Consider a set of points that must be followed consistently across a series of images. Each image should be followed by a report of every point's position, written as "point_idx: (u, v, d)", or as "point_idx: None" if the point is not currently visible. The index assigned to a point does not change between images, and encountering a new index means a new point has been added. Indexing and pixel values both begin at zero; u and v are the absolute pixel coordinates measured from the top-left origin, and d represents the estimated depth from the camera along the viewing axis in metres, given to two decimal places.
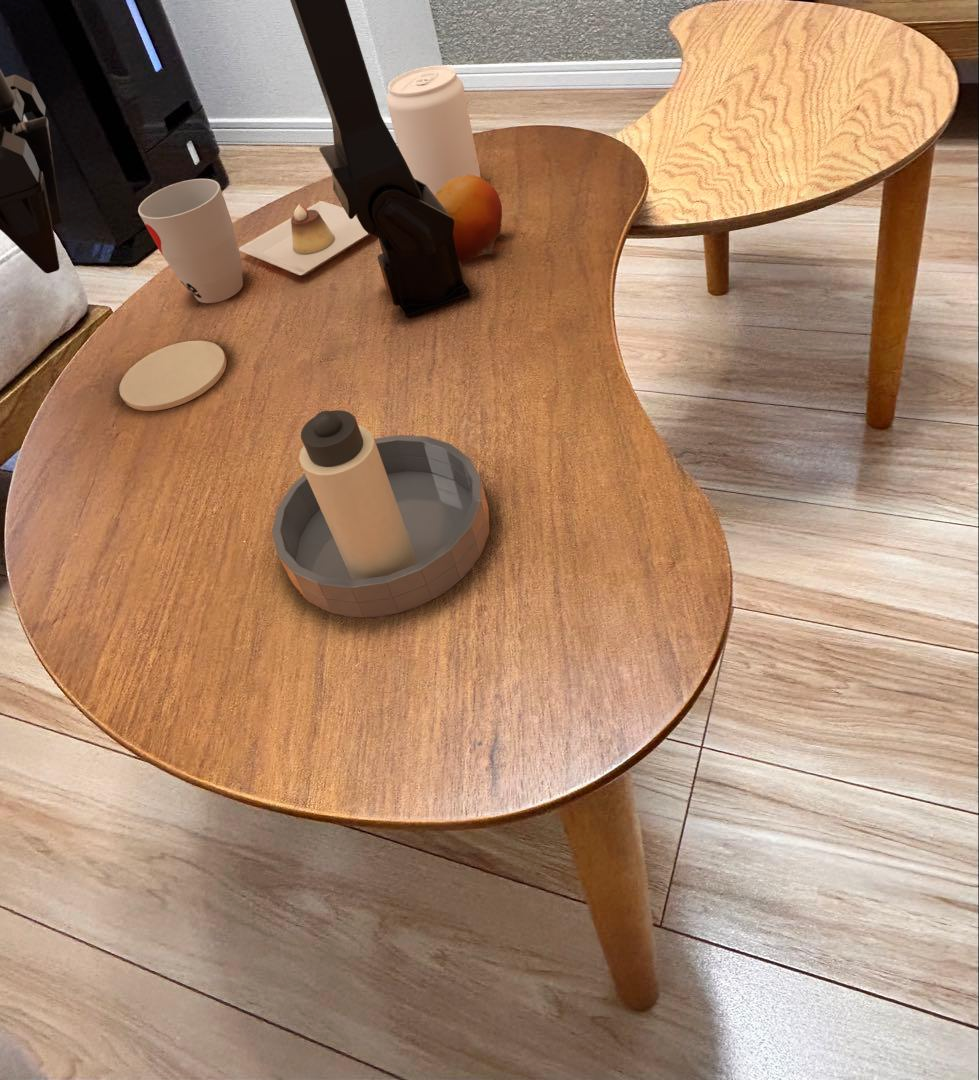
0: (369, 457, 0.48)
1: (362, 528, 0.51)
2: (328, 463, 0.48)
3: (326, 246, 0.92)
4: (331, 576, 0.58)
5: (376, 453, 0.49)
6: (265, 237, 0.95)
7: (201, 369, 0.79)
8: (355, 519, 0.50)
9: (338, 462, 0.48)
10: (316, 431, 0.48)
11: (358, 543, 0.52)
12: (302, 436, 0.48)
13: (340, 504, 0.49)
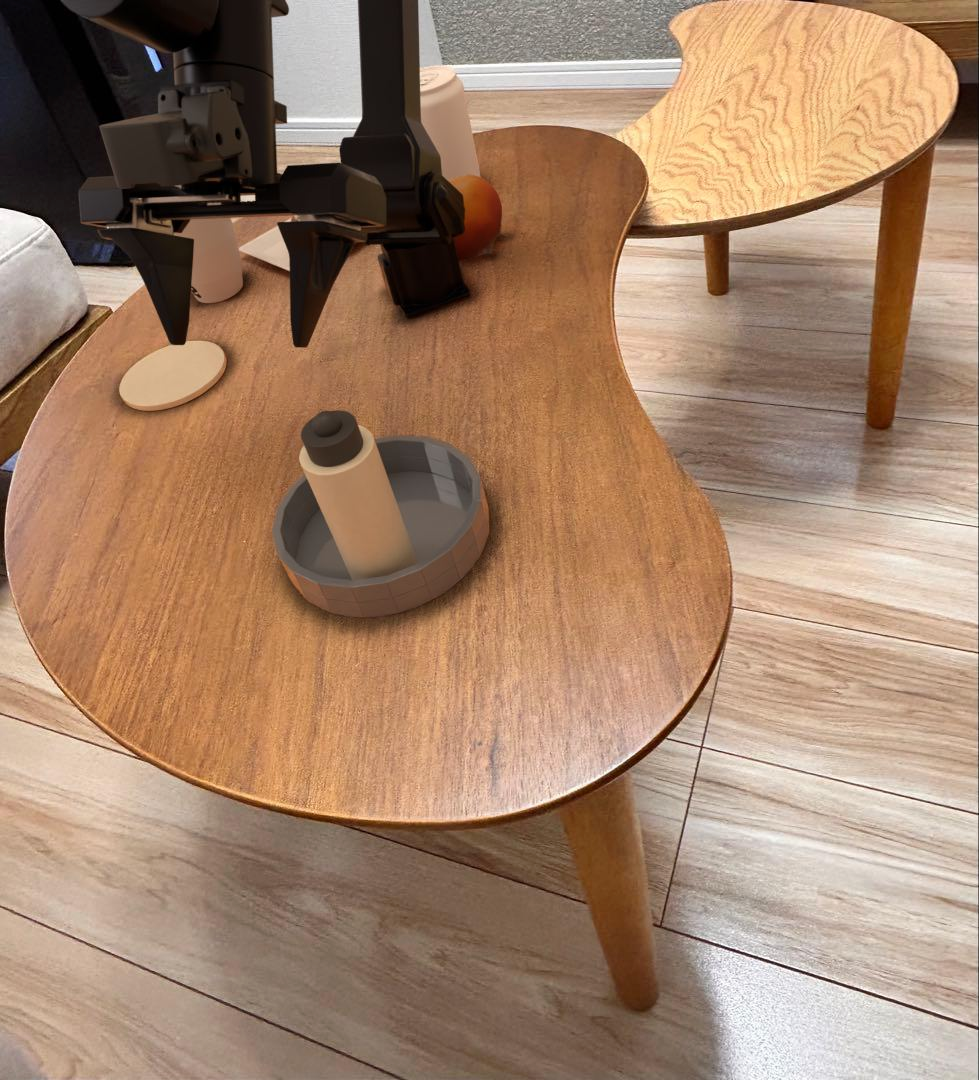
0: (369, 457, 0.48)
1: (362, 528, 0.51)
2: (328, 463, 0.48)
3: None
4: (331, 576, 0.58)
5: (376, 453, 0.49)
6: (265, 237, 0.95)
7: (201, 369, 0.79)
8: (355, 519, 0.50)
9: (338, 462, 0.48)
10: (316, 431, 0.48)
11: (358, 543, 0.52)
12: (302, 436, 0.48)
13: (340, 504, 0.49)
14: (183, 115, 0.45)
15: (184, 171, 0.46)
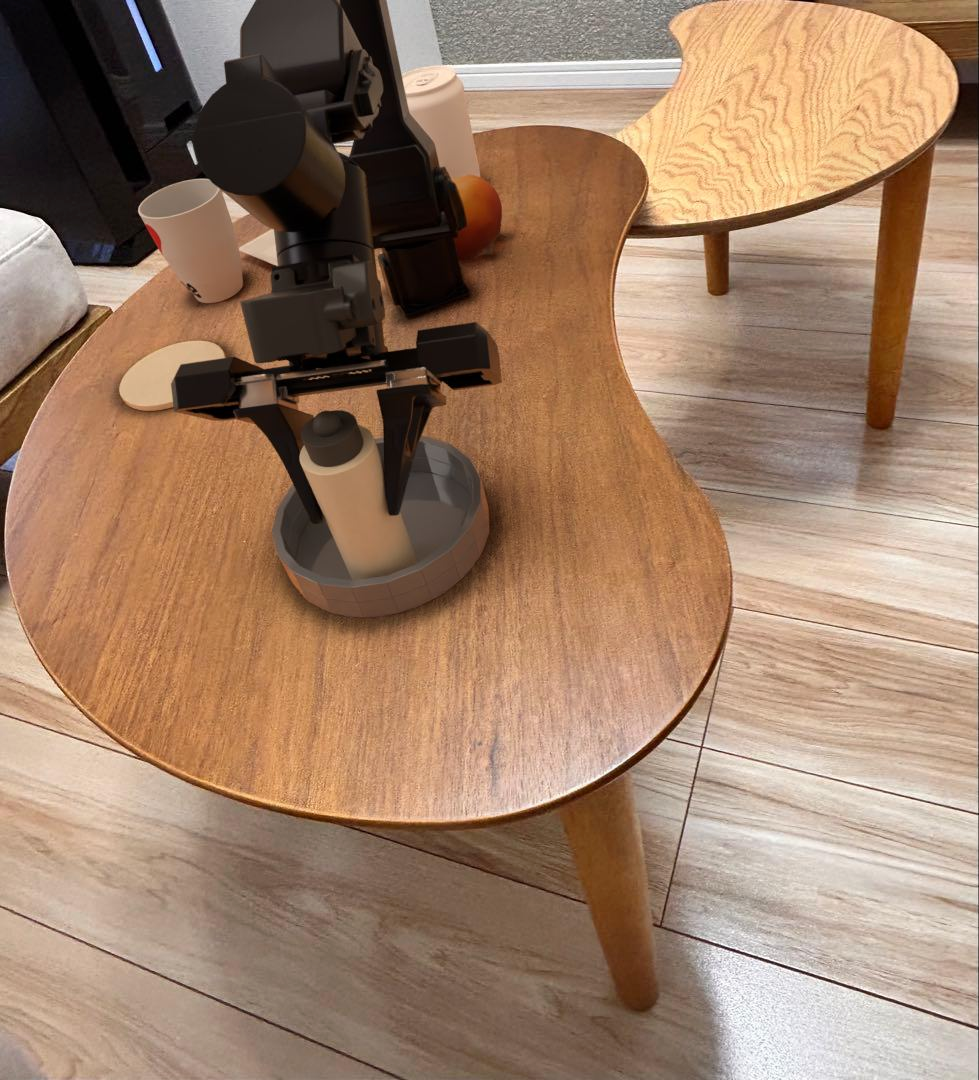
0: (369, 457, 0.48)
1: (362, 528, 0.51)
2: (328, 463, 0.48)
3: None
4: (331, 576, 0.58)
5: (376, 453, 0.49)
6: (265, 237, 0.95)
7: None
8: (355, 519, 0.50)
9: (338, 462, 0.48)
10: (316, 431, 0.48)
11: (358, 543, 0.52)
12: (302, 436, 0.48)
13: (340, 504, 0.49)
14: (336, 284, 0.44)
15: (337, 339, 0.44)
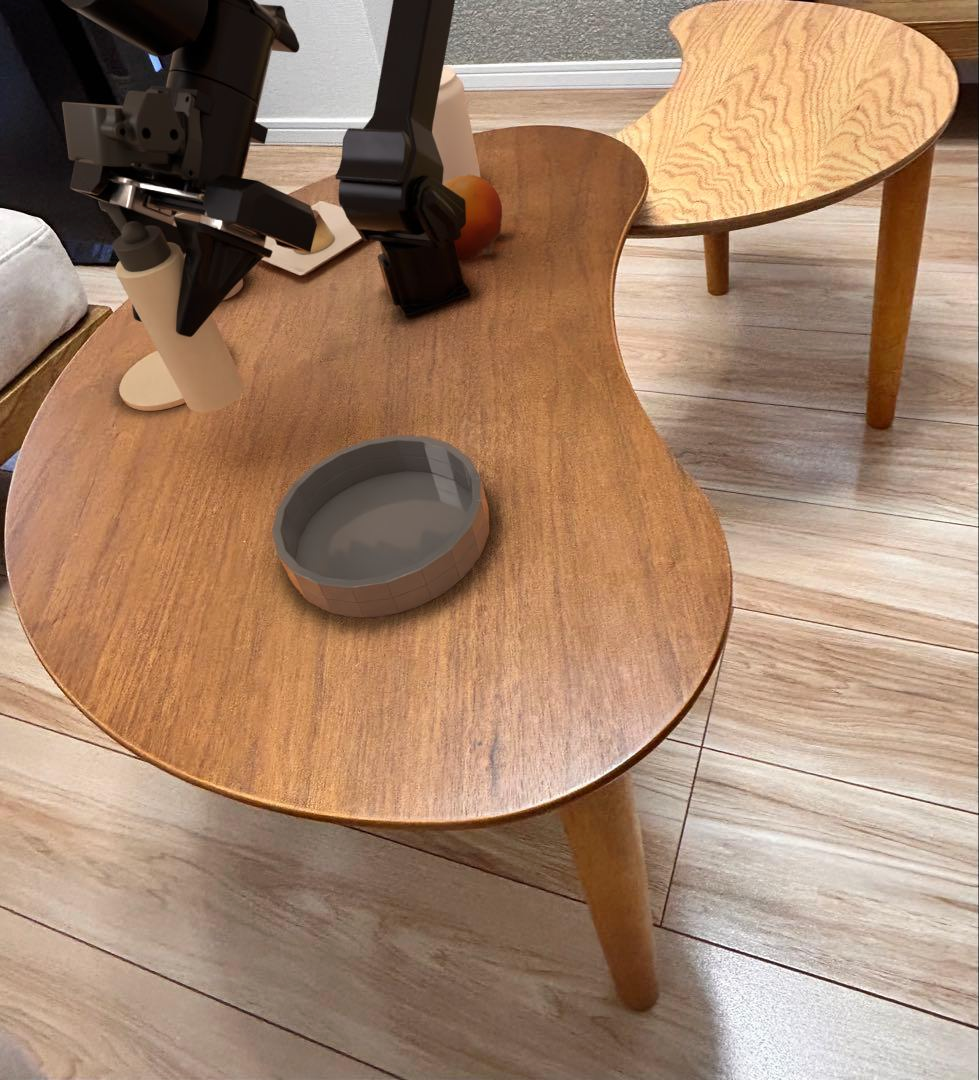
0: (156, 274, 0.55)
1: (158, 336, 0.58)
2: (125, 267, 0.55)
3: (326, 246, 0.92)
4: (331, 576, 0.58)
5: (171, 274, 0.56)
6: None
7: None
8: (150, 326, 0.58)
9: (131, 269, 0.55)
10: (122, 236, 0.55)
11: (160, 349, 0.59)
12: (118, 238, 0.56)
13: (136, 307, 0.57)
14: (123, 106, 0.49)
15: (114, 155, 0.50)
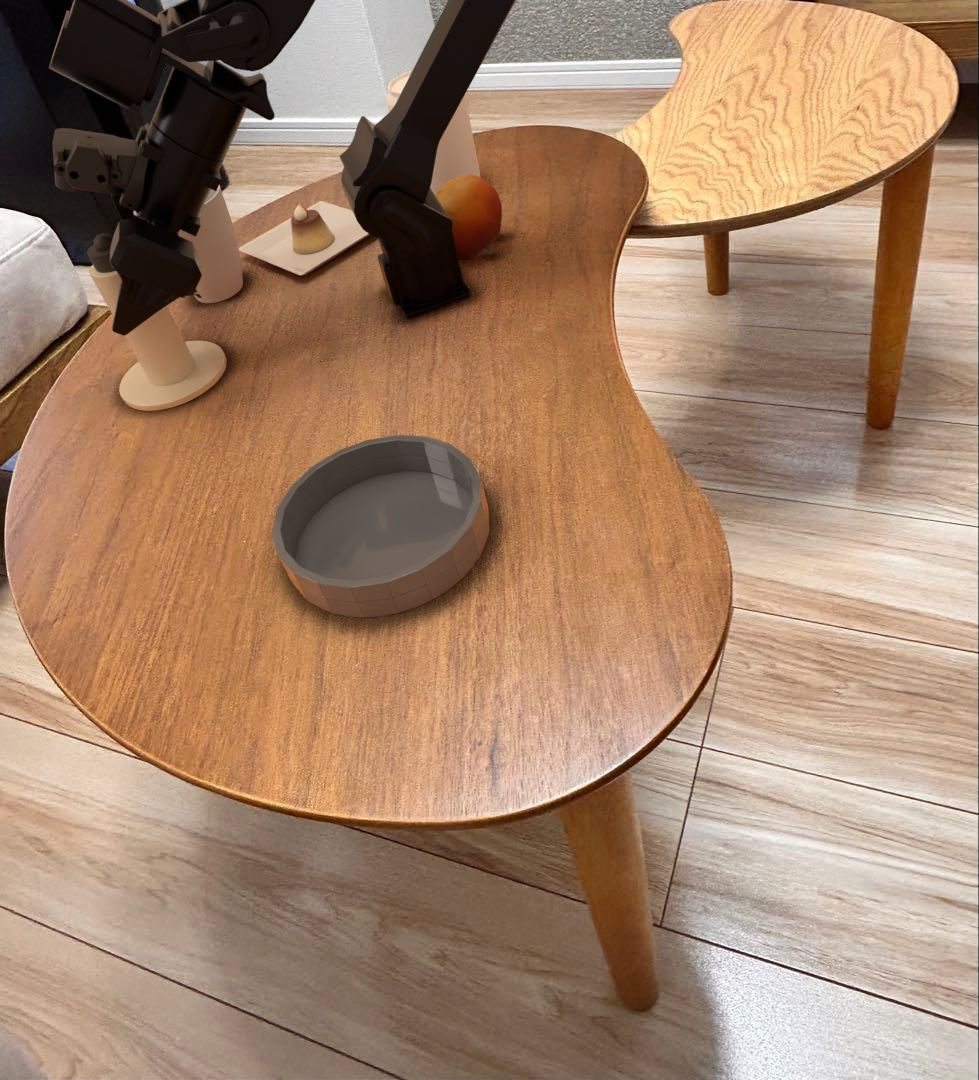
0: (104, 279, 0.71)
1: None
2: (94, 265, 0.72)
3: (326, 246, 0.92)
4: (331, 576, 0.58)
5: (117, 282, 0.71)
6: (265, 237, 0.95)
7: (201, 369, 0.79)
8: None
9: (95, 268, 0.71)
10: None
11: None
12: None
13: None
14: (70, 149, 0.63)
15: (62, 182, 0.65)
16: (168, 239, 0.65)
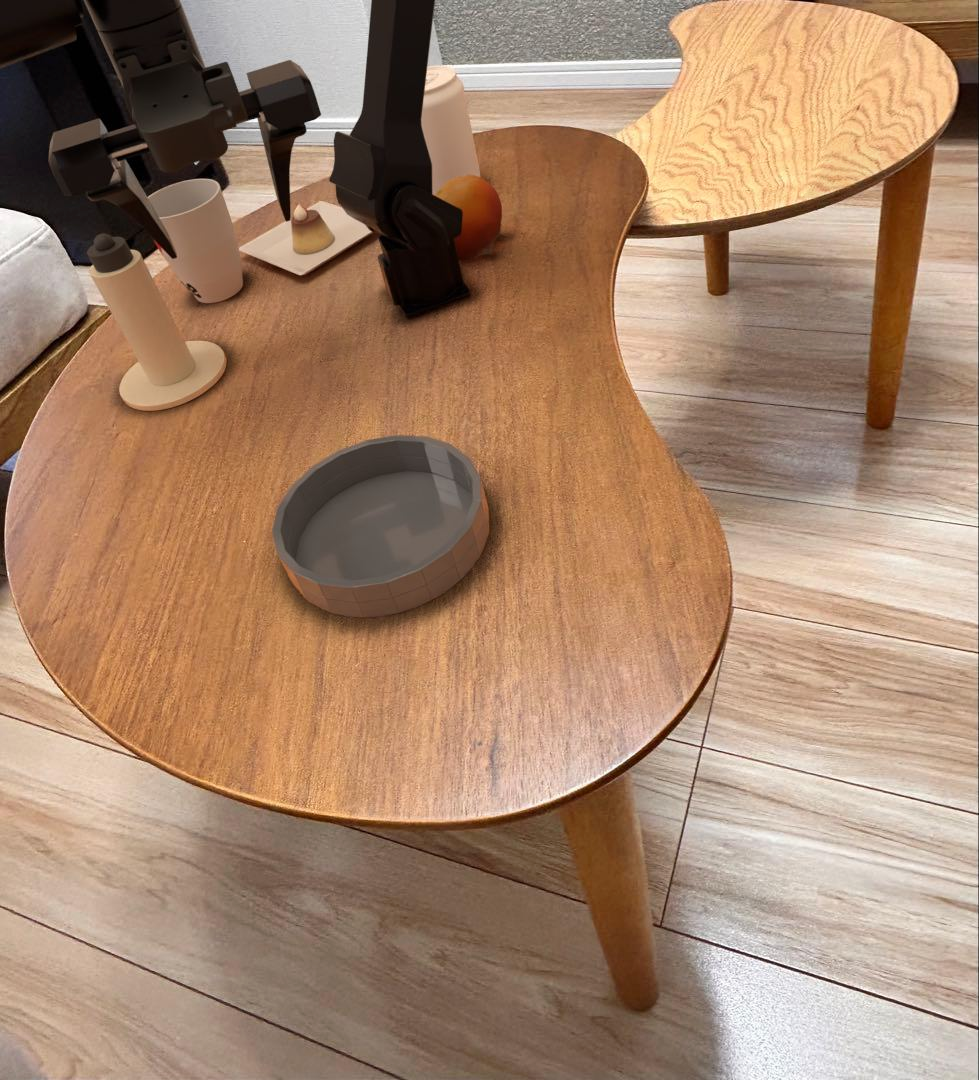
0: (104, 279, 0.71)
1: None
2: (94, 265, 0.72)
3: (326, 246, 0.92)
4: (331, 576, 0.58)
5: (117, 282, 0.71)
6: (265, 237, 0.95)
7: (201, 369, 0.79)
8: None
9: (95, 268, 0.71)
10: None
11: None
12: None
13: None
14: (213, 98, 0.55)
15: (224, 141, 0.57)
16: (271, 73, 0.62)
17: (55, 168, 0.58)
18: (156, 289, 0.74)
